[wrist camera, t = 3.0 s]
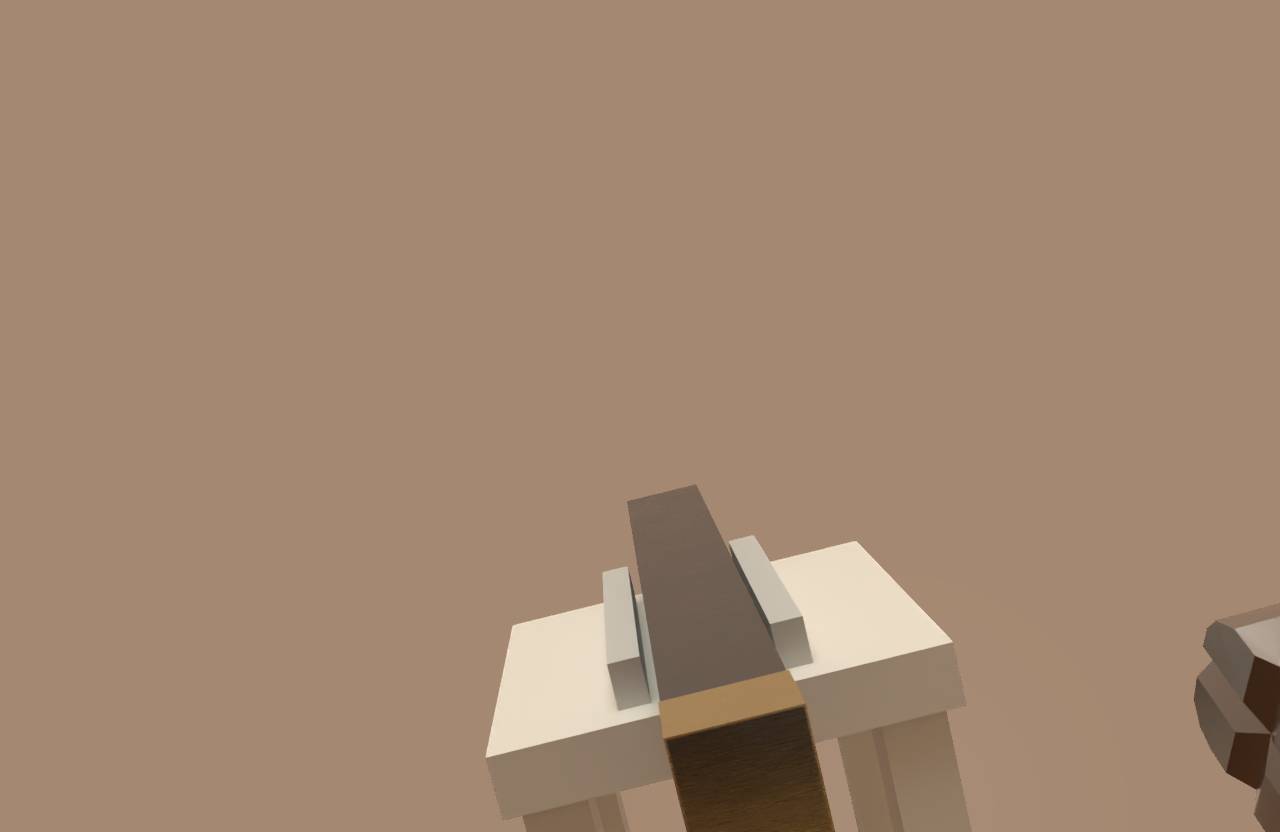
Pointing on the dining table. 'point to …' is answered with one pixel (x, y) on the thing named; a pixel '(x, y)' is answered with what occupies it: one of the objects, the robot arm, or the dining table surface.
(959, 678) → the pin stand
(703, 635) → the pin
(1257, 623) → the robot arm
